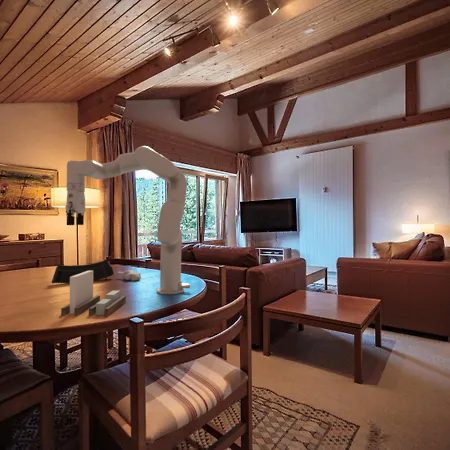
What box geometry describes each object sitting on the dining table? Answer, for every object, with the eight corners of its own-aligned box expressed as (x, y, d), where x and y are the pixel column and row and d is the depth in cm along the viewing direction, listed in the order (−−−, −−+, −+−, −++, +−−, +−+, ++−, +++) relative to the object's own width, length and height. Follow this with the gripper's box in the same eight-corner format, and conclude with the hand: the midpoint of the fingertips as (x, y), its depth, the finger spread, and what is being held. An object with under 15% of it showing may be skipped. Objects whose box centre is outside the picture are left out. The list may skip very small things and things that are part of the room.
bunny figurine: (130, 275, 160) (115, 268, 169) (129, 284, 160) (114, 277, 170) (145, 273, 167) (130, 266, 177) (144, 281, 168) (129, 275, 177)
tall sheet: (93, 303, 119) (93, 270, 119) (75, 313, 105) (75, 277, 105) (88, 303, 119) (88, 270, 119) (69, 313, 105) (69, 277, 105)
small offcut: (111, 310, 111) (111, 299, 111) (104, 315, 105) (104, 303, 105) (103, 309, 111) (103, 299, 111) (95, 314, 105) (96, 303, 105)
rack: (125, 302, 121) (125, 295, 121) (108, 316, 103) (108, 308, 103) (85, 301, 122) (85, 295, 121) (61, 315, 103) (61, 308, 103)
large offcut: (120, 302, 120) (120, 290, 120) (113, 308, 113) (113, 294, 113) (112, 302, 120) (112, 290, 120) (105, 307, 113) (105, 294, 113)
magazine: (47, 268, 148) (106, 247, 166) (45, 267, 150) (104, 247, 169) (58, 299, 151) (115, 276, 170) (56, 298, 153) (112, 275, 172)
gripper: (75, 186, 130) (75, 225, 130) (91, 190, 148) (91, 225, 148) (58, 185, 130) (57, 225, 130) (75, 189, 147) (75, 224, 147)
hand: (75, 225), depth 139 cm, fingers open, 9 cm apart
